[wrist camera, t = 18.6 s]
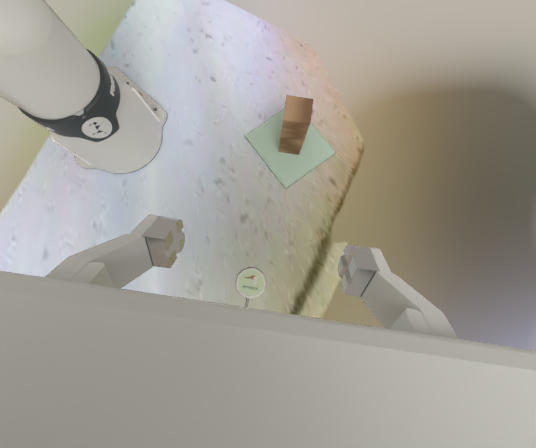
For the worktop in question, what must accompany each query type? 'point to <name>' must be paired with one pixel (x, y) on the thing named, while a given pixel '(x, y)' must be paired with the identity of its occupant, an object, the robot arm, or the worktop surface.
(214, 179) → the worktop surface
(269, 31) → the worktop surface
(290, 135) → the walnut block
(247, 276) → the sign
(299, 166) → the rubber mat
